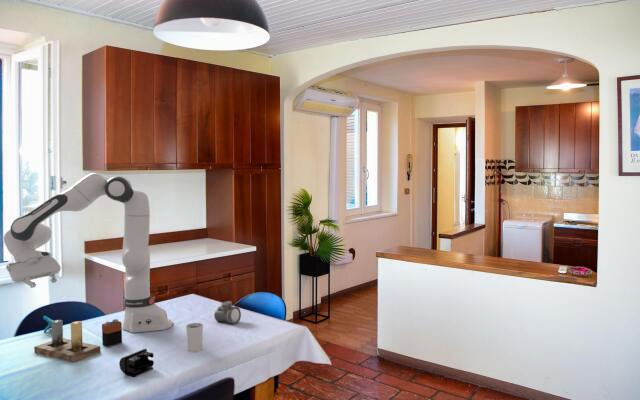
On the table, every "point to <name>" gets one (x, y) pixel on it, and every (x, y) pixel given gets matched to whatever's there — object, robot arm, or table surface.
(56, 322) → the steel leg
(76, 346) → the brass leg
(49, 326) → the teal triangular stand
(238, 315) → the pipe fitting
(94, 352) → the hole plate
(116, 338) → the battery
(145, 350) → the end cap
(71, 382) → the table surface
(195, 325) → the grey cup
